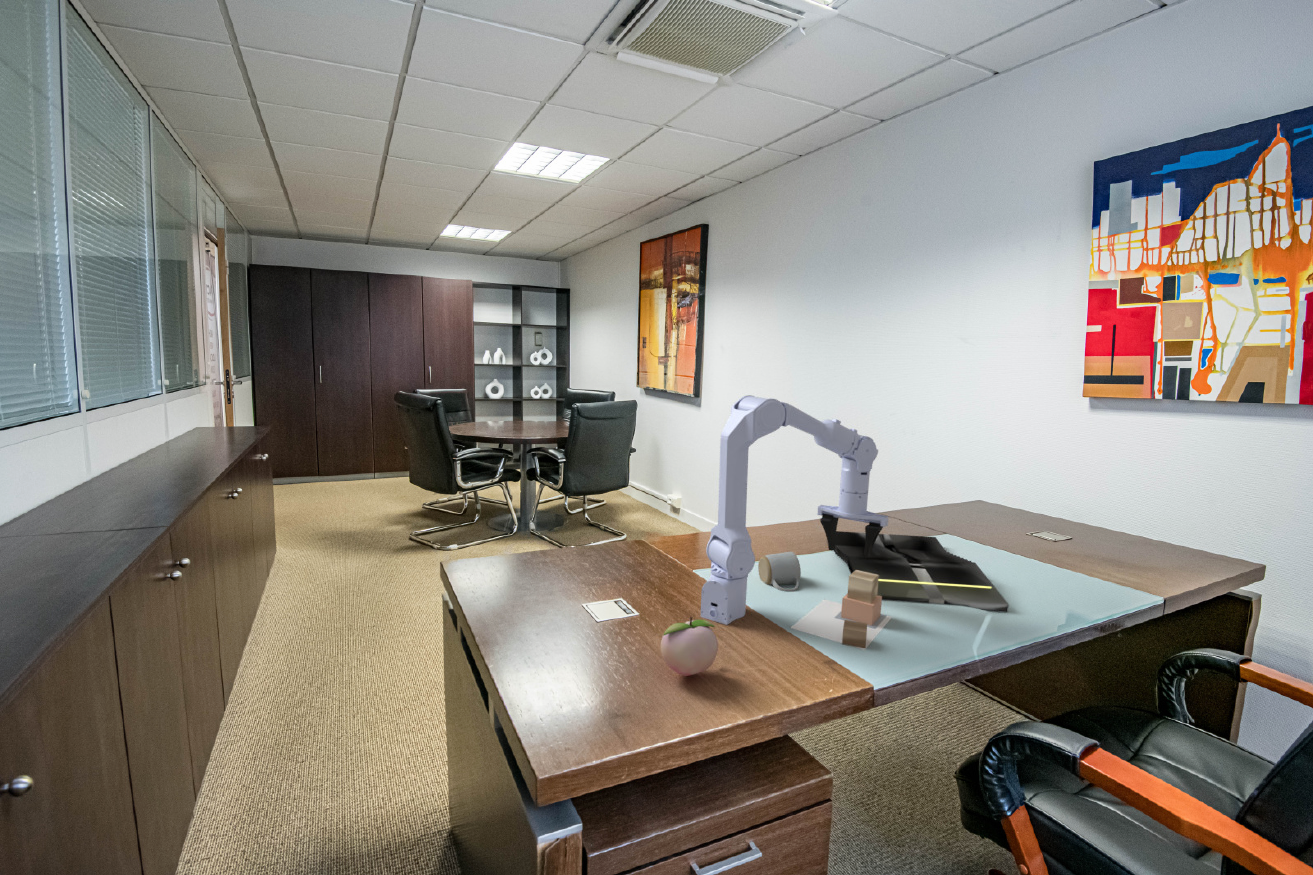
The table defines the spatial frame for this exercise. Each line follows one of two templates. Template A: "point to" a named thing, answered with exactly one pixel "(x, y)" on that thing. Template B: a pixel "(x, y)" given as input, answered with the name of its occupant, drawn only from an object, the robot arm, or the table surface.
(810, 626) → the mat
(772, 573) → the ceramic mug
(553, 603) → the table surface
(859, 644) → the block
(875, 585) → the maple block
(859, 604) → the terracotta block
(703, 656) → the decorative fruit
